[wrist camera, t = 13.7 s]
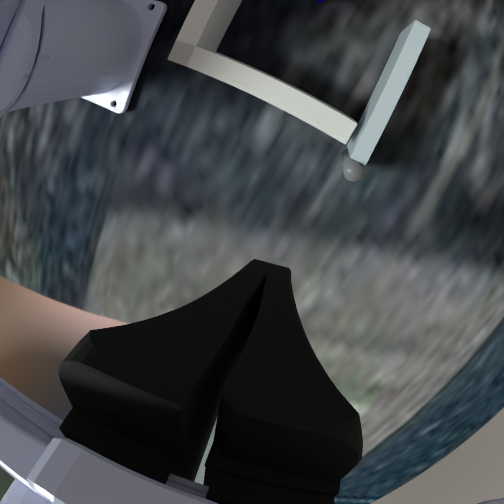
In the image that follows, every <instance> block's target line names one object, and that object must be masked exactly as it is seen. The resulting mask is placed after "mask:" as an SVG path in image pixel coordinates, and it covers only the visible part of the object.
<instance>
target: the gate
mask: <svg viewBox="0 0 504 504" xmlns="http://www.w3.org/2000/svg"><path fill="white" fill-rule="evenodd" d="M430 30H431V29H430V28H429V27H427V26H425V25H424V24H422V23H420V22H418V21H417V20H415V21H414V22H412V23H411V24H410V25H409V26H408V27H406V28H405V29H404V30H403V31H402V32H401V33H400V35H399V37H398V40H397V42H396V44H395V46H394V49H393V51H392V53H391V55H390V57H389V59H388V62H387V64H386V66H385V68H384V70H383V72H382V74H381V77H380V79H379V81H378V83H377V85H376V87H375V89H374V91H373V94H372V96H371V98H370V100H369V102H368V104H367V106H366V108H365V110H364V112H363V114H362V116H361V118H360V121H359V123H358V125H357V127H356V129H355V131H354V133H353V135H352V137H351V139H350V141H349V143H348V145H347V147H348V149H345V150H344V151H343V152H342V163H343V171H344V176H345V178H346V179H347V180H349V181H351V182H356V181H359V180H360V179H361V178H362V176H363V169H362V166H361V164H363V165H366V164H367V162H368V160H369V158H370V156H371V154H372V152H373V150H374V148H375V146H376V144H377V142H378V140H379V138H380V136H381V134H382V132H383V130H384V128H385V126H386V124H387V122H388V120H389V118H390V116H391V114H392V112H393V110H394V108H395V106H396V104H397V102H398V100H399V98H400V96H401V94H402V92H403V90H404V87H405V85H406V83H407V81H408V79H409V77H410V75H411V72H412V70H413V68H414V66H415V64H416V62H417V59H418V57H419V55H420V53H421V50H422V48H423V46H424V44H425V41H426V39H427V37H428V34H429V32H430ZM360 163H361V164H360Z"/></svg>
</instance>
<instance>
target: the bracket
mask: <svg viewBox="0 0 504 504" xmlns="http://www.w3.org/2000/svg"><path fill="white" fill-rule="evenodd" d="M241 2H242V0H195V2H194V4H193V6H192V8H191V10H190V12H189V14H188V16H187V18H186V20H185V22H184V24H183V26H182V28H181V30H180V32H179V35H178V37H177V39H176V41H175V43H174V46H173V48H172V50H171V52H170V55H169V57H168V59H167V60H170V61H173V62H175V63H178V64H181V65H183V66H186V67H188V68H191V69H194V70H196V71H199V72H201V73H204V74H206V75H208V76H211V77H213V78H216V79H218V80H220V81H223V82H225V83H227V84H229V85H232V86H234V87H236V88H238V89H241V90H243V91H245V92H247V93H249V94H251V95H254V96H256V97H258V98H260V99H262V100H264V101H266V102H268V103H270V104H272V105H274V106H276V107H278V108H280V109H282V110H284V111H286V112H288V113H290V114H292V115H294V116H296V117H297V118H299V119H301V120H303V121H305V122H307V123H309V124H310V125H312V126H314V127H316V128H318V129H319V130H321V131H323V132H325V133H326V134H328V135H330V136H332V137H333V138H335V139H337V140H339V141H340V142H342V143H344V144H345V145H346V143H347V141H348V139H349V138H350V136H351V134H352V133H353V131H354V129H355V128H356V126H357V122H356V121H355V120H354V119H353V118H351V117H349V116H348V115H346V114H344V113H343V112H341V111H339V110H337V109H336V108H334V107H332V106H330V105H328V104H327V103H325V102H323V101H321V100H319V99H318V98H316V97H314V96H312V95H310V94H308V93H306V92H304V91H302V90H300V89H298V88H296V87H294V86H292V85H290V84H288V83H286V82H284V81H282V80H280V79H278V78H276V77H274V76H272V75H270V74H267V73H265V72H263V71H261V70H259V69H256V68H254V67H252V66H250V65H247V64H245V63H243V62H240V61H238V60H235V59H233V58H231V57H228V56H226V55H223V54H221V53H218V52H216V50H217V48H218V46H219V44H220V42H221V40H222V38H223V36H224V34H225V32H226V30H227V28H228V26H229V24H230V23H231V21H232V19H233V17H234V15H235V13H236V11H237V9H238V7H239V6H240V4H241Z"/></svg>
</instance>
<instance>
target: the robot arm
mask: <svg viewBox="0 0 504 504" xmlns="http://www.w3.org/2000/svg"><path fill="white" fill-rule="evenodd" d="M152 5H155V8H154V9H153V10H151V7H152ZM166 11H167V5H166V4H165V3H163V2H160V1H156V0H0V117H1V115H2V114H3V113H6V112H10V111H14V110H18V109H22V108H26V107H31V106H35V105H40V104H45V103H49V102H55V101H60V100H66V99H71V98H78V97H81V98H84V99H86V100H88V101H91V102H93V103H95V104H98V105H100V106H102V107H105V108H107V109H109V110H111V111H114V112H116V113H119V114H120V113H124V112H125V111H126V110H127V108H128V105H129V102H130V99H131V97H132V94H133V91H134V88H135V85H136V83H137V80H138V77H139V74H140V72H141V69H142V67H143V64H144V62H145V59H146V56H147V54H148V52H149V49H150V47H151V44H152V42H153V40H154V37H155V35H156V33H157V31H158V28H159V26H160V24H161V22H162V19H163V17H164V15H165V13H166ZM115 101H116V103H117V105H116V107H115V106H114V102H115ZM58 372H59V377H60V380H61V383H62V385H63V387H64V390H65V392H66V394H67V396H68V398H69V400H70V402H71V405H72V407H73V408H72V410H71V411H70V412H69V414H68V415H67V417H66V418H65V420H64V421H63V420H61V419H59V418H58V417H56V416H55V415H53V414H51V413H50V412H48V411H47V410H45V409H44V408H42V407H41V406H39V405H38V404H36V403H35V402H33V401H32V400H30V399H29V398H28V397H26V396H25V395H23V394H22V393H21V392H19V391H18V390H17V389H15V388H14V387H13V386H11V385H10V384H9V383H7V382H6V381H5V380H3V379H2V378H1V377H0V466H1V467H2V468H3V469H4V470H5V471H6V472H8V473H9V474H10V475H11V476H13V477H14V478H15V480H14V482H13V483H12V485H11V486H10V488H9V489H8V491H7V492H6V494H5V495H4V497H3V499H2V500H1V502H0V504H334V498H335V495H337V494H338V493H339V490H340V481H341V479H342V478H343V477H344V476H345V475H347V474H348V473H349V472H350V471H351V470H352V469H353V468H354V467H356V466H357V464H358V463H359V462H360V460H361V459H362V450H363V438H362V429H361V422H360V416H359V413H358V412H357V411H356V410H355V409H354V408H353V406H352V405H351V404H350V403H349V402H348V401H347V400H346V398H345V397H344V396H343V395H342V394H341V393H340V392H339V390H338V389H337V388H336V386H335V385H334V384H333V382H332V381H331V380H330V378H329V376H328V375H327V373H326V372H325V370H324V368H323V367H322V365H321V364H320V362H319V360H318V359H317V357H316V355H315V353H314V351H313V349H312V347H311V345H310V343H309V341H308V338H307V336H306V334H305V331H304V329H303V326H302V323H301V320H300V318H299V314H298V311H297V308H296V304H295V300H294V295H293V290H292V284H291V270H290V269H289V268H287V267H283V266H279V265H275V264H272V263H268V262H264V261H260V260H256V259H254V260H252V261H250V262H249V263H248V264H247V265H246V266H245V267H243V268H242V269H241V270H240V271H239V272H237V273H236V274H235V275H233V276H232V277H231V278H229V279H228V280H227V281H225V282H224V283H222V284H221V285H220V286H218V287H217V288H215V289H213V290H212V291H210V292H208V293H207V294H205V295H204V296H202V297H200V298H198V299H197V300H195V301H193V302H191V303H189V304H187V305H185V306H182V307H180V308H178V309H175V310H173V311H170V312H167V313H165V314H162V315H159V316H157V317H153V318H150V319H147V320H143V321H139V322H135V323H131V324H127V325H122V326H116V327H110V328H103V329H97V330H90V331H89V332H88V333H87V334H86V335H85V336H84V337H83V338H82V339H81V340H80V341H79V342H78V344H77V345H76V346H75V347H74V348H73V350H72V351H71V352H70V353H69V355H67V357H66V358H65V359H64V360H63V362H62V363H61V364H60V365H59V371H58ZM217 416H218V417H217ZM216 418H217V423H216V429H215V435H214V441H213V444H212V447H211V449H210V452H209V454H208V457H207V460H206V462H205V467H206V469H205V476H204V484H203V485H201V484H199V483H195V482H194V480H195V477H196V474H197V472H198V469H199V466H200V463H201V460H202V457H203V455H204V452H205V449H206V446H207V443H208V440H209V438H210V435H211V432H212V429H213V426H214V424H215V421H216ZM479 504H504V498H501V499H495V500H489V501H485V502H481V503H479Z"/></svg>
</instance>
